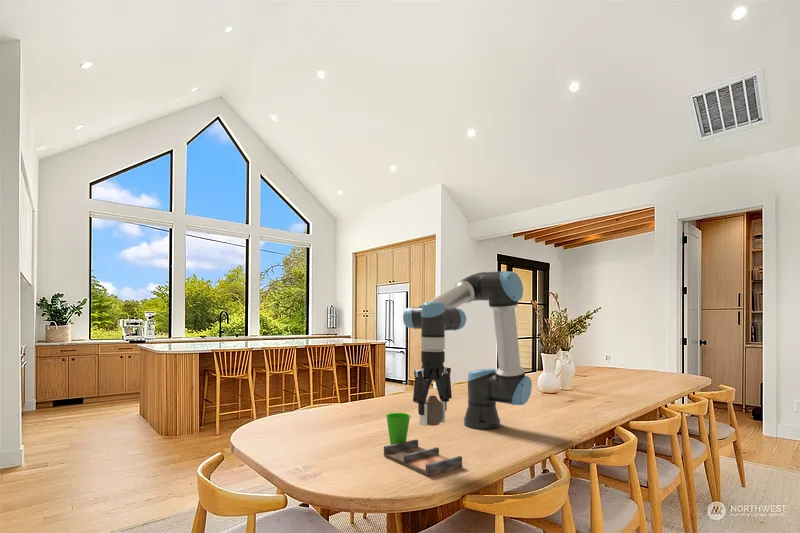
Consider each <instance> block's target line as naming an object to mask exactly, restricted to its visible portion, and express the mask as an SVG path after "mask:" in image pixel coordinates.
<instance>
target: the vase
mask: <svg viewBox="0 0 800 533" xmlns="http://www.w3.org/2000/svg"><path fill="white" fill-rule="evenodd" d="M425 404H427V426H432V427H434V426H439V425H440V424H441V423H442V419H443V415H444V411H443V407H442V405H441V403H440V402H439V399H438V397H437V396H436V395H429V396H428V397H427V398H426V402H425Z"/></svg>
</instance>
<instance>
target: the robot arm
mask: <svg viewBox="0 0 800 533" xmlns="http://www.w3.org/2000/svg"><path fill="white" fill-rule="evenodd" d="M523 296H524V286H523V282H522V280H521V277H520V276H519V275H518V274H517V273H516V272H515V271H509V270H508V271H505V270H503V271H501V270H500V271H484V272H483V271H482V272H477V273H474V274H471V275H468V276H467V277H464V278H462V279H461V280H459V281H457V282H456V283H455V284H454V286H452V288H449V289H447V290H446V291H445V292H443V293H441V294H439V295H437V296H436V297H434V298H432V299H430V300H428V301H425V302H423V303H422V304H421V305H419V306H417V307H416V306H412V307H407V308H406V309H405V310H404V312H403V315H402V321H403V324H404V325H405V327H406V328H409V329H414V330H421V337H420V339H421V340H420V342H421V347H420V348H421V351H420V352H421V354H420V361H421V368H420V369H418V370H417V369H414V370H413V374H414V386H413V387H414V388H413V396H412V401H413V403H416V404H417V405H418V406H417V407H418V409H417V410H418V415H419V425H420V426H424V427H427V426H428V425H427V404H425V402H426V401H427V399H428V395H429V390H430V387H431V385H432V383H433V382H435V386H436V389H437V393H438V397H439V399H440V400H439V399H438V400H439V402H440V403H441V405H442V407H443V411H444V415H443V419H442V422H441V423H443V424H444V423H446V411H447V403H448V402H449V401H450V400H451V399H452V398H453V397H452V395H453V394H452V385H451V383H452V382H451V372H452V368H451V367H446V366H444V364H445V361H446V359H445V357H446V356H445V355H446V352H445V351H444V350H445V349H446V347H445V346H446V344H445V343H446V339H445V338H446V337H445V336H446V335H445V333H446V332H445V331H454V332H455V331H457V330H462V329H463V328H464V327H465V325H466V323H467V315H466V313H465V311H464V310H462V309H461V308H459V307H460V306H461V305H464V304H469V303H471V302H473V301H486V302H487V301H488V306H489V308H490V309H492V311H493V320H494V330H495V331H494V332H495V339H496V340H495V341H496V349H497V350H496V351H497V361H498V368H497V369H495V368H480V369H472V370H470V371H469V372H468V374H467V407H466V412H465V416H464V417H463V424H464V426H466V427H467V428H472V429H479V430H493V429H498V428H500V427H501V418H500V417H499V413H498V410H497V403H500V404H501V403H502V404H507V405H512V406H523V405H526V403H527V402H529V399H530V397H531V393H532V386H533V385H532V379H531V377H529V376H528V375H526V369H525V368H523V367H522V366H521V358H520V348H519V347H520V345H519V334H518V328H517V327H518V325H517V315H516V308H517V307H518V306H519V301H521V299H522V298H523Z"/></svg>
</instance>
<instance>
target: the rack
mask: <svg viewBox="0 0 800 533" xmlns="http://www.w3.org/2000/svg"><path fill="white" fill-rule="evenodd" d="M383 457H384V458H388V460H391V461H394V462H395V463H398V464H399V463H400V464H399V465H402V466H404V467H406V468H408V469H410V468H411V469H410V470H412V469H413V471H414V470H415V472H417V473H419V474H421V475H423V476H425V477H426V478H428V477H432V475H433V476H436V475H439V474H443V473H447V472H450V471H454V470H457V469H461V468H463V456H461V455H458V456H454V457H451V458H449V457H445V456H444V455H443V456H442V455H441V454H440V447H431V448H427V449H425V448H423V447H420V446H419V439H416V438H415V439H413V440H406V442H402V443H397V444H393V445H391V444H389V445H385V446H383Z"/></svg>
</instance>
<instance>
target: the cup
mask: <svg viewBox="0 0 800 533" xmlns="http://www.w3.org/2000/svg"><path fill="white" fill-rule="evenodd" d="M385 417H386V420H387V422H386V423H387V430H388V436H389V445H393V444H397V443H402V442H407V438H408V433H409V432H408V431H409V425H410V418H411V417H412V416H411V414H410V413H407V412H389V413H387V414H386V415H385Z"/></svg>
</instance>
